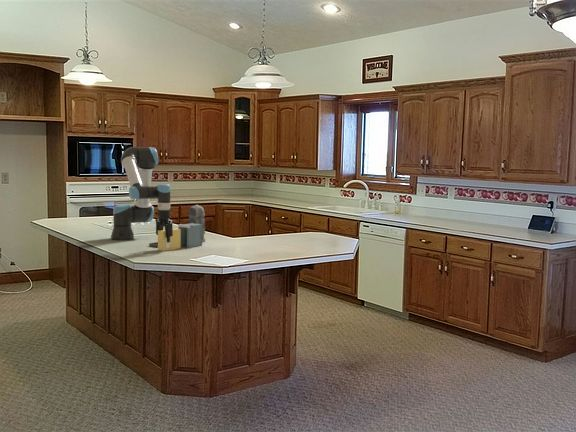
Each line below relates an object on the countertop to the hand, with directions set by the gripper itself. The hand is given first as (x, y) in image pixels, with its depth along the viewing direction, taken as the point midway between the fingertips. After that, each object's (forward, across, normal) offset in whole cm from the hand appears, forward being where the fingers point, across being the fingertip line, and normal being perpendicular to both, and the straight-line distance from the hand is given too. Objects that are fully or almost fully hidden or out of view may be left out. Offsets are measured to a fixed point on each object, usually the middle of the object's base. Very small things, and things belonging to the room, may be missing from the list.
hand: (164, 247), depth 372 cm
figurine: (+2, -11, +39) cm, 40 cm away
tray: (+2, -14, +12) cm, 18 cm away
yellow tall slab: (+2, 0, +4) cm, 4 cm away
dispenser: (+2, 0, +22) cm, 22 cm away
